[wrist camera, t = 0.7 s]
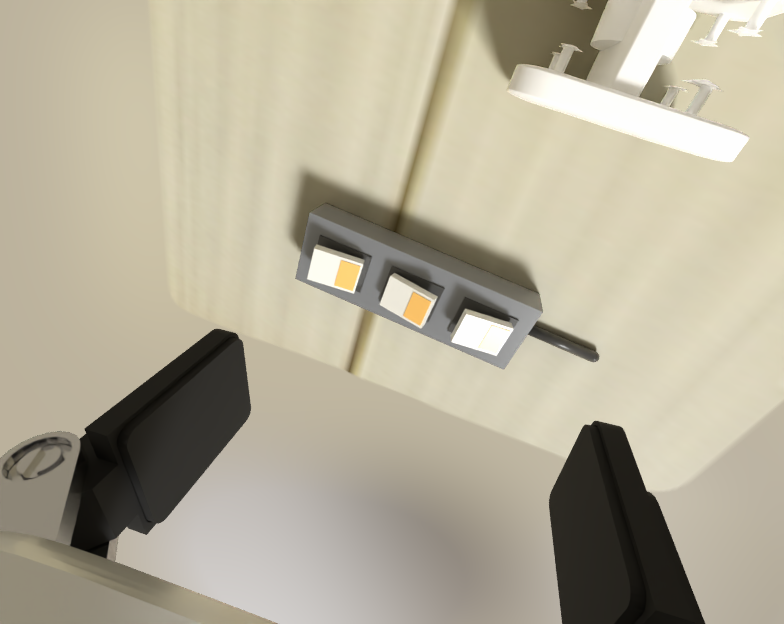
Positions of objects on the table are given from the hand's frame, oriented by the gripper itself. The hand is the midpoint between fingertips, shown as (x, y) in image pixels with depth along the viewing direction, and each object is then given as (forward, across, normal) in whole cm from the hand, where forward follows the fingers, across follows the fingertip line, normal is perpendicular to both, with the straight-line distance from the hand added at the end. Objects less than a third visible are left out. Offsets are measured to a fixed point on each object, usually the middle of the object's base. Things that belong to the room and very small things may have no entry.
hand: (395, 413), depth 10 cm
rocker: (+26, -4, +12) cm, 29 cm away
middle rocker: (+26, +4, +10) cm, 28 cm away
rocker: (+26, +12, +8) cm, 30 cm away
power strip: (+31, 0, +11) cm, 33 cm away
